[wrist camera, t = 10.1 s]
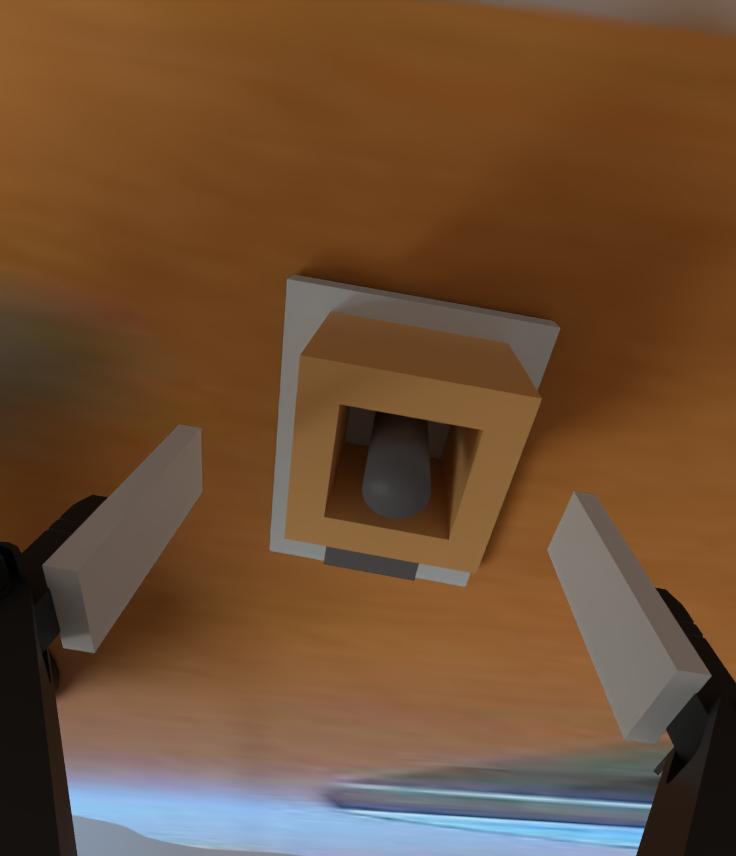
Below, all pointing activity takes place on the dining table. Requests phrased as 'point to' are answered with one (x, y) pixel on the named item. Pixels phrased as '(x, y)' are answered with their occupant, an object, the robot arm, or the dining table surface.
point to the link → (413, 397)
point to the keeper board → (362, 420)
